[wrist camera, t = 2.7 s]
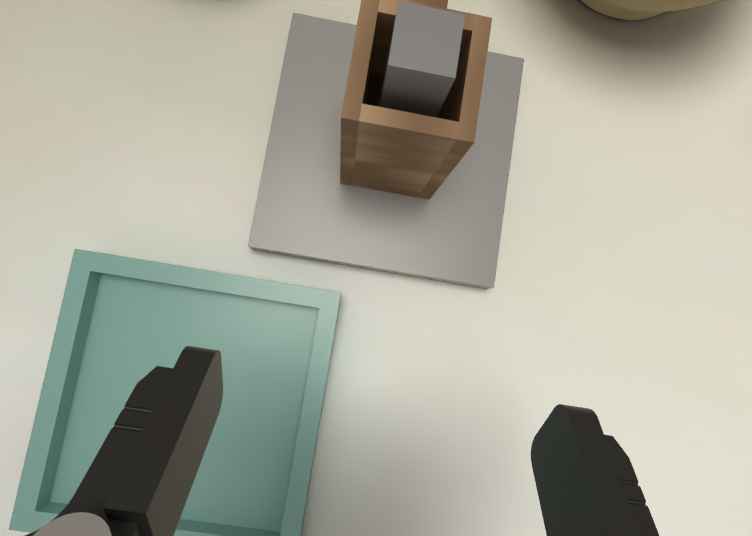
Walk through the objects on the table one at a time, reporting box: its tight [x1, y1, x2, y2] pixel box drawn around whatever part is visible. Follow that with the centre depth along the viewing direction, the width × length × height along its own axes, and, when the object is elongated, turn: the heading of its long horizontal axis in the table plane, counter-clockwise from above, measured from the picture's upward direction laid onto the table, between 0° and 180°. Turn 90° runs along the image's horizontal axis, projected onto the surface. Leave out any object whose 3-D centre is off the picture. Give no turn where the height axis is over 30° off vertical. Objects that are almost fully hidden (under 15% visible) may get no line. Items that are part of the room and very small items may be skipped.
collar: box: [340, 0, 492, 200], centre depth 23 cm, size 5×6×9 cm
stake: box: [248, 1, 524, 289], centre depth 22 cm, size 14×14×12 cm
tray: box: [9, 249, 341, 536], centre depth 25 cm, size 14×14×2 cm
